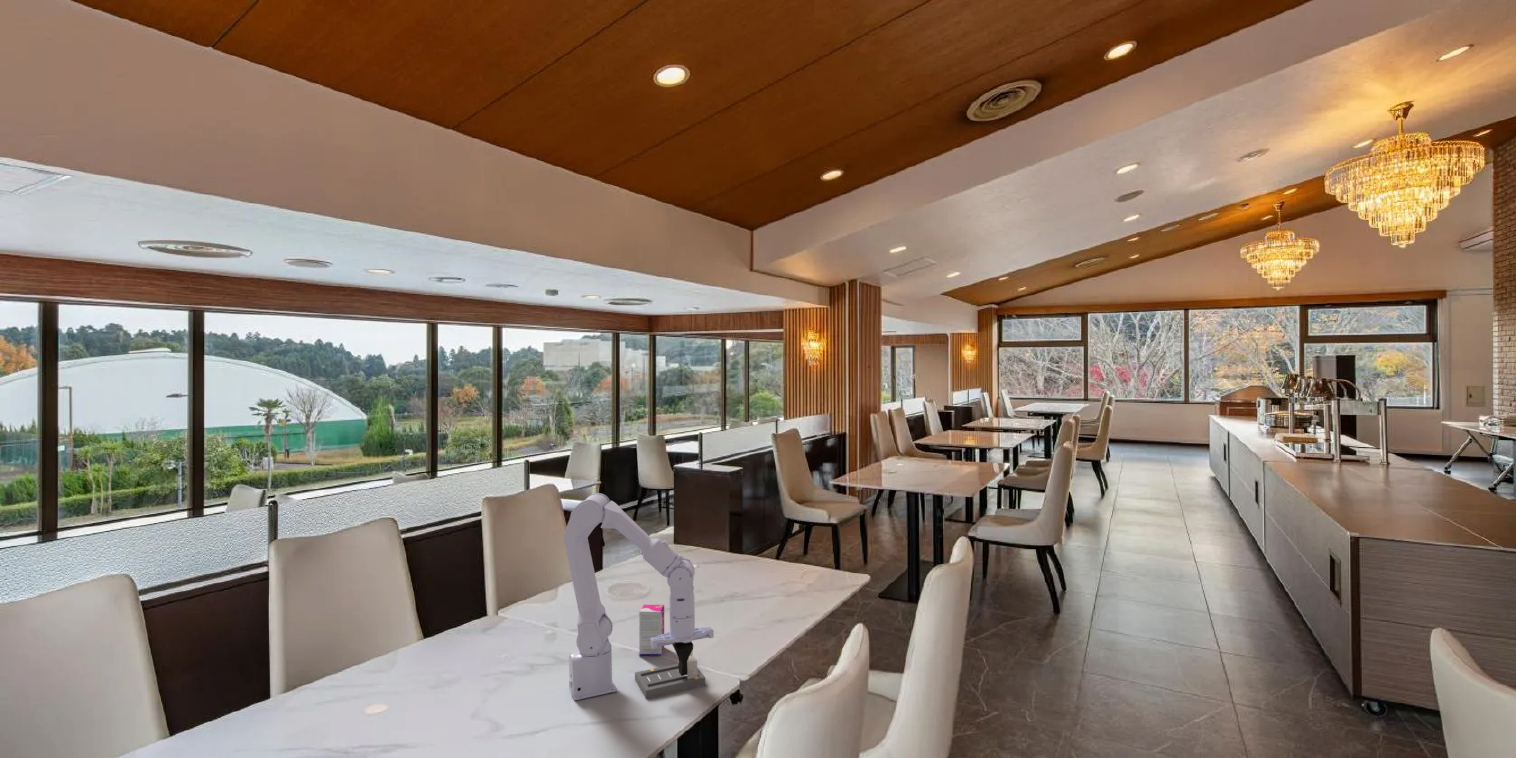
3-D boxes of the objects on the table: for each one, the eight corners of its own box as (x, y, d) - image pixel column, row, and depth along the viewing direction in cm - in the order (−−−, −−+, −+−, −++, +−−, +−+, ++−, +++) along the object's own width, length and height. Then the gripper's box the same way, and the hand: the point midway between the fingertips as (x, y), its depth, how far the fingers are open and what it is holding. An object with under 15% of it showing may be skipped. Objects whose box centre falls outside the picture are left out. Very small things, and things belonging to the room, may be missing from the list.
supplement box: (661, 656, 166) (660, 611, 167) (638, 656, 167) (637, 611, 167) (665, 647, 172) (664, 603, 172) (643, 647, 172) (642, 604, 172)
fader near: (687, 682, 149) (687, 662, 149) (683, 677, 152) (683, 657, 152) (697, 680, 150) (697, 660, 150) (693, 674, 153) (693, 655, 153)
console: (645, 698, 144) (645, 690, 144) (635, 680, 153) (634, 672, 153) (705, 685, 150) (705, 676, 150) (691, 668, 159) (691, 660, 159)
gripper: (656, 625, 143) (657, 687, 143) (717, 614, 149) (718, 674, 149) (647, 615, 150) (648, 674, 150) (707, 605, 156) (708, 662, 156)
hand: (683, 673), depth 150 cm, fingers closed, pressing on fader near
